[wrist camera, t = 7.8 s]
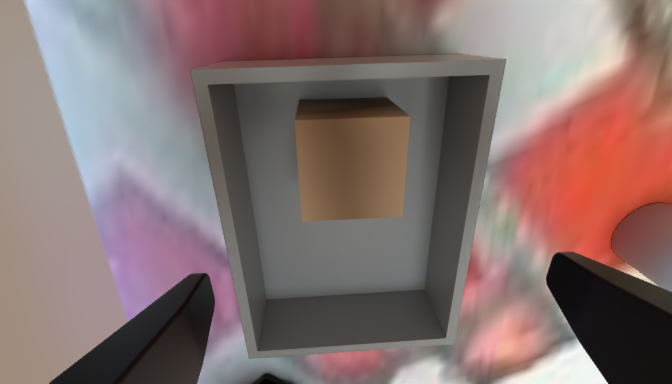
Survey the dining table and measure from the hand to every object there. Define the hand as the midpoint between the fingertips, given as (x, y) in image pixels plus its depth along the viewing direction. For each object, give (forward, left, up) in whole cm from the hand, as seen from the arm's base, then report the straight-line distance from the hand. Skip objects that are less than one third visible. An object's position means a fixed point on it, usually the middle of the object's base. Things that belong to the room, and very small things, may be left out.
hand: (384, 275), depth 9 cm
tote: (-3, -3, -13) cm, 13 cm away
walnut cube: (0, 0, -12) cm, 12 cm away
